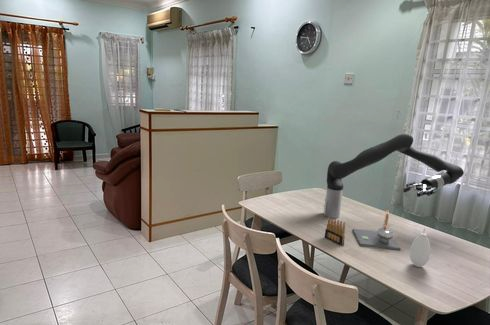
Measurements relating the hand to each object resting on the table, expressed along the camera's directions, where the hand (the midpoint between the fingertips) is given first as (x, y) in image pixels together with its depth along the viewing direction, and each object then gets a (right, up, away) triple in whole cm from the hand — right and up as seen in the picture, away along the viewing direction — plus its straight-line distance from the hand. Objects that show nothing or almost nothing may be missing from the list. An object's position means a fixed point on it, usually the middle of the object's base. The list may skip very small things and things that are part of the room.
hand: (410, 192), depth 172 cm
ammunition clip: (-43, -24, -9) cm, 50 cm away
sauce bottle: (-11, -30, -27) cm, 42 cm away
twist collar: (-16, -20, -5) cm, 26 cm away
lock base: (-20, -24, -4) cm, 32 cm away
